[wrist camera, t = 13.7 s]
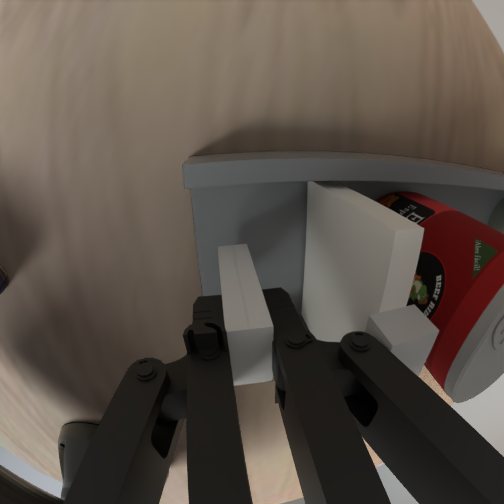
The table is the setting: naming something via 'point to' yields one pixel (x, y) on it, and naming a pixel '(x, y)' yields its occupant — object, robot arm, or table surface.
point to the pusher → (363, 273)
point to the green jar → (497, 217)
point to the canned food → (457, 293)
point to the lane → (295, 202)
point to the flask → (3, 279)
